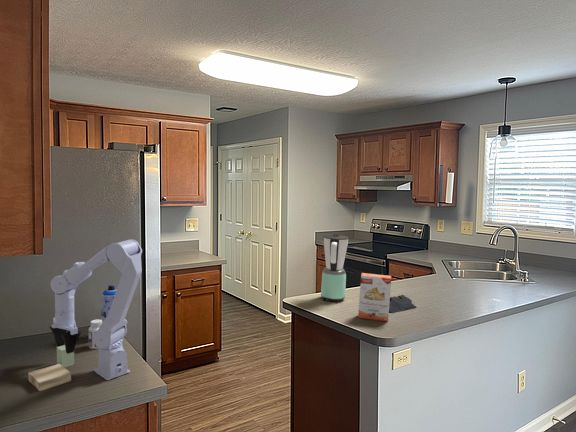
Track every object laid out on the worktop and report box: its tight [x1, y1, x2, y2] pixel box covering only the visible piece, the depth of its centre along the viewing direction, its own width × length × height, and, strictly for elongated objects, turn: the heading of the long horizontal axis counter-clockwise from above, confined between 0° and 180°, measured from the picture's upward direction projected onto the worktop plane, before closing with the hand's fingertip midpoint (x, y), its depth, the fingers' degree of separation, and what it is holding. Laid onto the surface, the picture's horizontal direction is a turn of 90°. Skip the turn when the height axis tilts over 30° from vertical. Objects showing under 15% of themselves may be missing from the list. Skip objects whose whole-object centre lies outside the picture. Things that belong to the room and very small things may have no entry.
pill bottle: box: [88, 318, 102, 350], centre depth 159 cm, size 5×5×10 cm
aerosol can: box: [100, 285, 117, 322], centre depth 170 cm, size 8×8×20 cm
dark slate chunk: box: [389, 294, 417, 314], centre depth 224 cm, size 15×22×5 cm
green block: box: [56, 344, 75, 368], centre depth 144 cm, size 4×4×6 cm
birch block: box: [28, 363, 72, 392], centre depth 133 cm, size 9×9×3 cm
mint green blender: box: [320, 234, 350, 303], centre depth 229 cm, size 19×13×35 cm
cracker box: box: [357, 272, 392, 322], centre depth 203 cm, size 14×6×21 cm, turn 76°
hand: (65, 349), depth 144 cm, fingers open, 7 cm apart
